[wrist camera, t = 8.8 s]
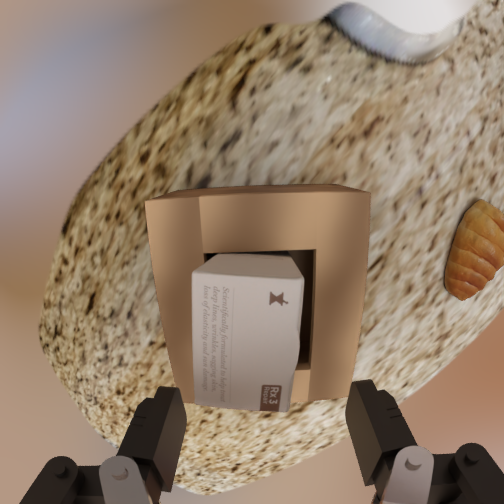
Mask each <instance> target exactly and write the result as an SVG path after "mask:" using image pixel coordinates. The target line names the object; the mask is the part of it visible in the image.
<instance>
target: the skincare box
mask: <svg viewBox="0 0 504 504" xmlns="http://www.w3.org/2000/svg"><path fill="white" fill-rule="evenodd" d="M303 291H304V278H303V276H302V274H301V272H300V271H299V269H298V267H297V266H296V264H295V263H294V261H293V259H292V258H291V256H290V254H289V253H288V251H287V250H280V251H252V252H225V253H218V254H217V255H215V256H214V257H213V258H211V259H210V260H208V261H207V262H206V263H204V264H203V265H201V266H200V267H198V268H197V269H196V270H194V271H193V272H192V350H193V376H194V395H195V404H196V405H204V406H211V407H218V408H227V409H239V410H251V411H272V412H287V411H289V409H290V402H291V395H292V388H293V381H294V374H295V368H296V365H297V362H298V356H299V349H300V340H299V334H300V325H301V315H302V305H303Z"/></svg>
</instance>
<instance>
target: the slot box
mask: <svg viewBox="0 0 504 504" xmlns="http://www.w3.org/2000/svg"><path fill="white" fill-rule="evenodd" d="M370 197H371V193H370V192H366V191H362V190H358V189H354V188H350V187H346V186H341V185H337V184H294V185H258V186H235V187H217V188H201V189H187V190H177V191H174V192H171V193H168V194H165V195H162V196H159V197H156V198H153V199H150V200H147V201H145V209H146V219H147V228H148V237H149V245H150V253H151V260H152V267H153V274H154V280H155V287H156V293H157V299H158V304H159V310H160V315H161V321H162V326H163V331H164V336H165V341H166V345H167V350H168V355H169V359H170V363H171V368H172V372H173V376H174V380H175V384H176V387H178V388H179V389H180V392H181V396H182V400H183V403H195V395H194V376H193V350H192V272H193V271H194V270H196V269H197V268H198V267H200V266H201V265H203V264H204V263H206V262H207V261H208V260H210V259H211V258H213V257H214V256H215V255H217V254H218V253H225V252H252V251H280V250H287V251H288V253H289V254H290V256H291V258H292V259H293V261H294V263H295V264H296V266H297V267H298V269H299V271H300V272H301V274H302V276H303V278H304V291H303V305H302V315H301V325H300V334H299V340H300V349H299V356H298V362H297V365H296V368H295V374H294V381H293V388H292V395H291V402H290V403H294V402H307V401H317V400H327V399H336V398H343V397H348V396H349V391H350V386H351V382H352V377H353V372H354V366H355V360H356V355H357V348H358V342H359V335H360V328H361V321H362V313H363V305H364V296H365V286H366V275H367V263H368V249H369V231H370Z"/></svg>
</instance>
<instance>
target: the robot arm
mask: <svg viewBox="0 0 504 504" xmlns="http://www.w3.org/2000/svg"><path fill="white" fill-rule="evenodd" d="M345 416H346V423H347V426H348V429H349V433H350V436H351V439H352V443H353V446H354V449H355V453H356V456H357V459H358V463H359V466H360V470H361V473H362V477H363V480H364V484H365V486H369V485H373V484H374V485H375V488H376V492H375V494H374V497H373V500H372V502H371V504H504V474H503V472H502V471H501V469H500V468H499V467H498V465H497V464H496V463H495V461H494V460H493V459H492V457H491V456H490V455H489V453H488V452H487V451H486V449H485V448H484V447H483V446H481V445H479V444H476V443H467V444H465V445H462V446H461V447H460V448H459V449H458V450H457V452H456V453H453V454H431V452H430V451H429V450H427V449H426V448H423V447H421V446H418V445H417V443H416V441H415V439H414V437H413V435H412V433H411V431H410V429H409V427H408V425H407V423H406V421H405V419H404V417H403V416H402V413H401V411H400V409H398V405H397V403H396V401H395V399H394V397H393V396H391V395H390V394H389V393H388V392H387V391H385V390H379V391H377V389H376V387H375V385H374V383H373V381H372V380H371V379H368V380H361V381H354V382H352V383H351V386H350V391H349V396H348V400H347V405H346V411H345ZM186 424H187V417H186V412H185V408H184V404H183V400H182V396H181V392H180V389H179V388H178V387H164V386H159V387H158V389H157V391H156V394H155V396H154V398H146V399H145V400H143V401H142V402H141V403H140V404H139V405H138V406H137V409H136V411H135V413H134V417H133V418H132V420H131V422H130V425H129V427H128V429H127V432H126V434H125V436H124V439H123V441H122V443H121V446H120V448H119V450H118V453H117V455H116V456H114V457H111V458H108V459H107V460H105V461H104V462H103V463H102V465H99V466H77V465H76V463H75V462H74V461H73V460H72V459H70V458H68V457H65V456H58V457H54V458H52V459H51V460H49V461H48V462H47V463H46V465H45V466H44V468H43V469H42V471H41V472H40V474H39V475H38V476H37V478H36V479H35V481H34V482H33V484H32V485H31V487H30V488H29V490H28V491H27V493H26V494H25V496H24V497H23V499H22V500H21V502H20V503H19V504H161V502H160V500H159V499H160V495H161V491H165V492H171V489H172V485H173V481H174V476H175V472H176V468H177V463H178V459H179V455H180V451H181V447H182V442H183V438H184V434H185V430H186Z"/></svg>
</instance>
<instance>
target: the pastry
mask: <svg viewBox="0 0 504 504" xmlns="http://www.w3.org/2000/svg"><path fill="white" fill-rule="evenodd" d="M503 265H504V214H503V213H502V212H501V211H500V210H499V209H497V208H496V207H494V206H493V205H491V204H490V203H488V202H486V201H485V200H482V199H480V200H479V201H477V202H476V203H475V204H474V205H473V206H472V207H471V208H469V209H468V210H467V211H466V212H465V214H464V217H463V219H462V221H461V223H460V224H459V226H458V229H457V232H456V234H455V239H454V241H453V243H452V248H451V251H450V254H449V257H448V261H447V264H446V268H445V280H444V283H445V287H446V289H447V291H448V292H449V293H451V294H452V295H454V296H455V297H457V298H458V299H459V300H461V301H463V300H466V299H467V298H470V297H472V296H473V295H475V294H476V293H477V292H478V291H480V290H482V289H483V288H484V286H485V284H486V283H487V282H488V281H490V280H492V279H493V278H494V275H495V272H496V271H498V270H499V269H500V268H501V267H502V266H503Z"/></svg>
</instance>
